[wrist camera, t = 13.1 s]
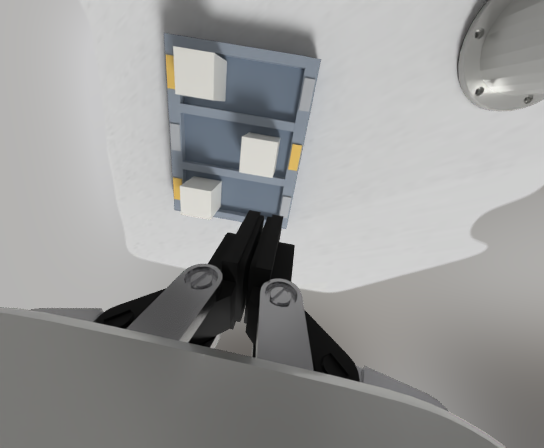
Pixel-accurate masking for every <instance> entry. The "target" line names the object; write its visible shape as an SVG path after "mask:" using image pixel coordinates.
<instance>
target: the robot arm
mask: <svg viewBox="0 0 544 448" xmlns="http://www.w3.org/2000/svg"><path fill="white" fill-rule="evenodd" d="M475 34H476V37H475ZM458 74H459V81H460V85H461V88H462V90H463V92H464V94H465V96H466V97H467V98H468V99H469V100H470V101H471V102H472V103H473V104H475V105H476V106H478V107H480V108H483V109H486V110H490V111H513V110H517V109H522V108H525V107H528V106H531V105H533V104H536V103H538V102H540V101H542V100H543V99H544V0H488V2H487V3H486V4H485V5H484V6H483V8H482V9H481V10H480V11H479V13H478V15H477V16H476V18H475V19H474V21H473V22H472V24H471V26H470V28H469V30H468V32H467V34H466V36H465V39H464V42H463V45H462V48H461V51H460V57H459V63H458ZM475 91H476V93H475ZM282 222H283V216H279V215H274V214H272V217H267V219H266V222H265V225H264V228H263V224H264V216H263V215H261V212H257V211H252V210H249V211H248V213H247V215H246V217H245V219H244V221H243V222H242V224H241V226H240V228H239V230H238V232H237V233H236V234H233V233H227V234H226V235H225V237H224V239H223V240H222V242H221V243H220V245H219V247H218V248H217V250H216V252H215V253H214V255H213V256H212V258H211V260H210V261H209V263H208V264H198V265H193V266H191V267H189V268H187V269H186V270H185V271H183V272H182V273H181V274H180V275H179V276H178V277H177V278H176V279H175V280H174V281H173V282H172V283H171V284H170V285H169V287H167V288H166V289H163V290H160V291H158V292H155V293H152V294H149V295H146V296H143V297H140V298H138V299H135V300H132V301H129V302H126V303H123V304H120V305H118V306H115V307H113V308H110V309H109V310H107V311H105V312H103V311H102V309H100V308H99V309H98V308H95V309H94V308H88V309H87V308H83V309H82V308H81V309H80V308H39V309H31V310H24V309H17V308H2V307H0V448H507V447H505V446H504V445H503V444H501V443H500V442H498V441H497V440H496V439H494V438H493V437H491V436H490V435H488V434H487V433H485V432H484V431H482V430H480V429H479V428H477V427H475V426H474V425H472V424H470V423H469V422H467V421H465V420H463V419H462V418H460V417H458V416H456V415H454V414H452V413H450V412H449V411H448V410H447V409H446V408H445V407H444V406H443V405H442V404H441V403H440V402H439V401H438V400H437V399H435V398H434V397H432V396H430V395H429V394H427V393H425V392H422V391H420V390H418V389H416V388H413V387H411V386H409V385H407V384H404V383H402V382H400V381H398V380H395V379H393V378H391V377H389V376H386V375H384V374H382V373H380V372H377V371H375V370H373V369H371V368H368V367H366V366H364V367H363V369H362V368H360V367H358V366H356V365H355V363H354V362H353V361H352V359H351V358H350V357H349V356H348V355H347V354H346V353H345V352H344V351H343V350H342V348H341V347H340V346H339V345H338V344H337V343H336V342H335V341H334V340H333V339H332V338H331V337H330V336H329V335H328V334H327V333H326V332H325V331H324V330H323V329H322V328H321V327H320V326H319V325H318V324H317V323H316V321H315V320H314V319H313V318H312V317H311V316H310V315H309V314H308V313H307V312H306V311H305V310H304V306H303V300H302V294H301V291H300V289H299V288H298V287H297V286H296V285H295V284H294V283H292V282H291V277H292V267H293V257H294V246H295V245H292V244H286V243H281V242H279V240H280V234H281V228H282ZM245 306H246V308H245ZM244 309H245V317H244V323H247V325H246V333H247V335H248V337H249V338H250V339H251V341H252V343H253V347H252V357H250V356H245V355H240V354H236V353H232V352H227V351H223V350H218V349H215V347H216V345H217V343H218V341H219V339H220V336H221V333H222V332H224V331H226V330H228V329H233V328H234V325H235V322H236V321H237V322H240V321H241V318H242V315H243V312H244Z"/></svg>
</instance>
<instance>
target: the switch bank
mask: <svg viewBox="0 0 544 448" xmlns="http://www.w3.org/2000/svg"><path fill="white" fill-rule="evenodd" d="M164 44H165V60H166V77H167V93H168V110H169V126H170V143H171V159H172V176H173V192H174V209H175V210H177V211H181V204H180V185H182V184H183V183H185V182H186V181H188V180H189V179H191V178H192V177H194V176H196V177H202V178H207V179H213V180H219V181H222V187H221V207H220V208H219V209H218V211H217V212H216V213H215V215H214V216H213V217H217V218H222V219H228V220H234V221H239V222H243V221H244V219H245V217H246V215H247V213H248V211H249V210H252V211H257V212H261V215H263V216H264V224H263V226H264V225H265V222H266V219H267V217H272V214H274V215H279V216H283V222H282V228H283V229H286V228H287V223H288V218H289V213H290V208H291V203H292V198H293V193H294V189H295V184H296V179H297V174H298V169H299V164H300V159H301V154H302V150H303V145H304V140H305V135H306V130H307V125H308V120H309V115H310V111H311V106H312V101H313V96H314V91H315V86H316V81H317V76H318V72H319V67H320V62H321V59H317V58H311V57H307V56H301V55H295V54H289V53H283V52H277V51H271V50H265V49H259V48H253V47H247V46H241V45H234V44H228V43H222V42H216V41H210V40H204V39H198V38H192V37H186V36H180V35H174V34H168V33H164ZM173 46H176V47H182V48H188V49H194V50H200V51H206V52H212V53H215V54H217V55H218V56H220V57H221V58H223V59H224V60H226V61H227V75H226V98H225V101H213V100H207V99H201V98H196V97H190V96H184V95H178V94H175V76H174V54H173ZM249 132H250V133H256V134H262V135H268V136H274V137H279V138H280V144H279V150H278V156H277V163H276V169H275V172H274V175H273V178H269V177H263V176H257V175H252V174H246V173H240V172H239V167H240V154H241V142H242V136H244V135H245V134H247V133H249Z"/></svg>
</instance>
